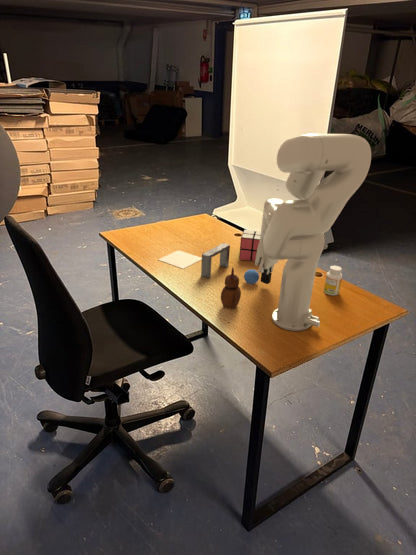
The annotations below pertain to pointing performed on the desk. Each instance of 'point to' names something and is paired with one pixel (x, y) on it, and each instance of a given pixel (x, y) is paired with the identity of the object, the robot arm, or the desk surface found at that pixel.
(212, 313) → the desk surface
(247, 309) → the desk surface
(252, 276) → the ball
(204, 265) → the bridge
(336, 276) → the supplement bottle
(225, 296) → the wooden figurine
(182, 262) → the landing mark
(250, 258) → the puzzle cube
